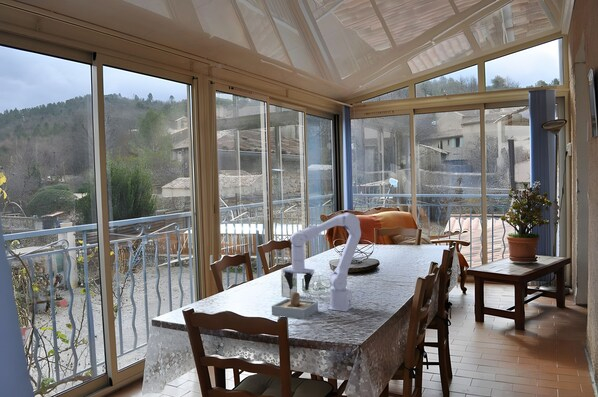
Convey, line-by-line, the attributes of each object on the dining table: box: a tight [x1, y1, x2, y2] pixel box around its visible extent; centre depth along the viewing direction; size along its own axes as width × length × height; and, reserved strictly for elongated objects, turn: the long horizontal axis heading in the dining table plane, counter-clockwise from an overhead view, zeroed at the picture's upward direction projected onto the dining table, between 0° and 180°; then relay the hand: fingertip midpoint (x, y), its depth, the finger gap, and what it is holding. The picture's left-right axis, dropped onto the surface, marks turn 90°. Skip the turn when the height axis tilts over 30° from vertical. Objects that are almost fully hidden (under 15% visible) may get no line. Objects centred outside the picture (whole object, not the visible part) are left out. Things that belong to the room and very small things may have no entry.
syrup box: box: [280, 266, 298, 299], centre depth 253 cm, size 6×6×14 cm
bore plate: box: [281, 301, 311, 309], centre depth 222 cm, size 11×11×3 cm
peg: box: [290, 292, 301, 308], centre depth 222 cm, size 4×4×8 cm
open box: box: [271, 298, 319, 320], centre depth 222 cm, size 16×14×4 cm
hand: (298, 289), depth 225 cm, fingers open, 7 cm apart
